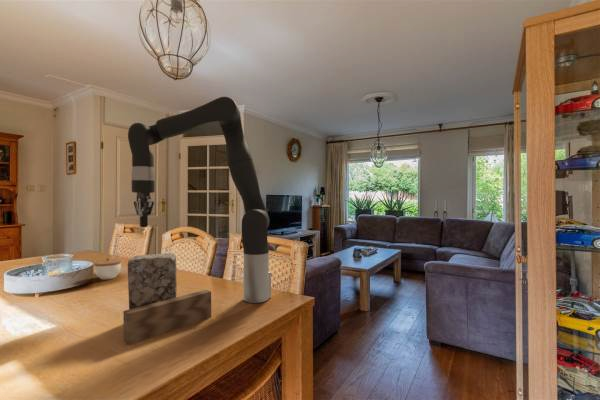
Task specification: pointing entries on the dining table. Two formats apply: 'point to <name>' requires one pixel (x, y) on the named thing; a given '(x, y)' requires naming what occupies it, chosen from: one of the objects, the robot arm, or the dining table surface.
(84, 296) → the dining table surface
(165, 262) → the stone block
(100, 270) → the lidded jar
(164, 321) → the stop bar
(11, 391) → the dining table surface
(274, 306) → the dining table surface
